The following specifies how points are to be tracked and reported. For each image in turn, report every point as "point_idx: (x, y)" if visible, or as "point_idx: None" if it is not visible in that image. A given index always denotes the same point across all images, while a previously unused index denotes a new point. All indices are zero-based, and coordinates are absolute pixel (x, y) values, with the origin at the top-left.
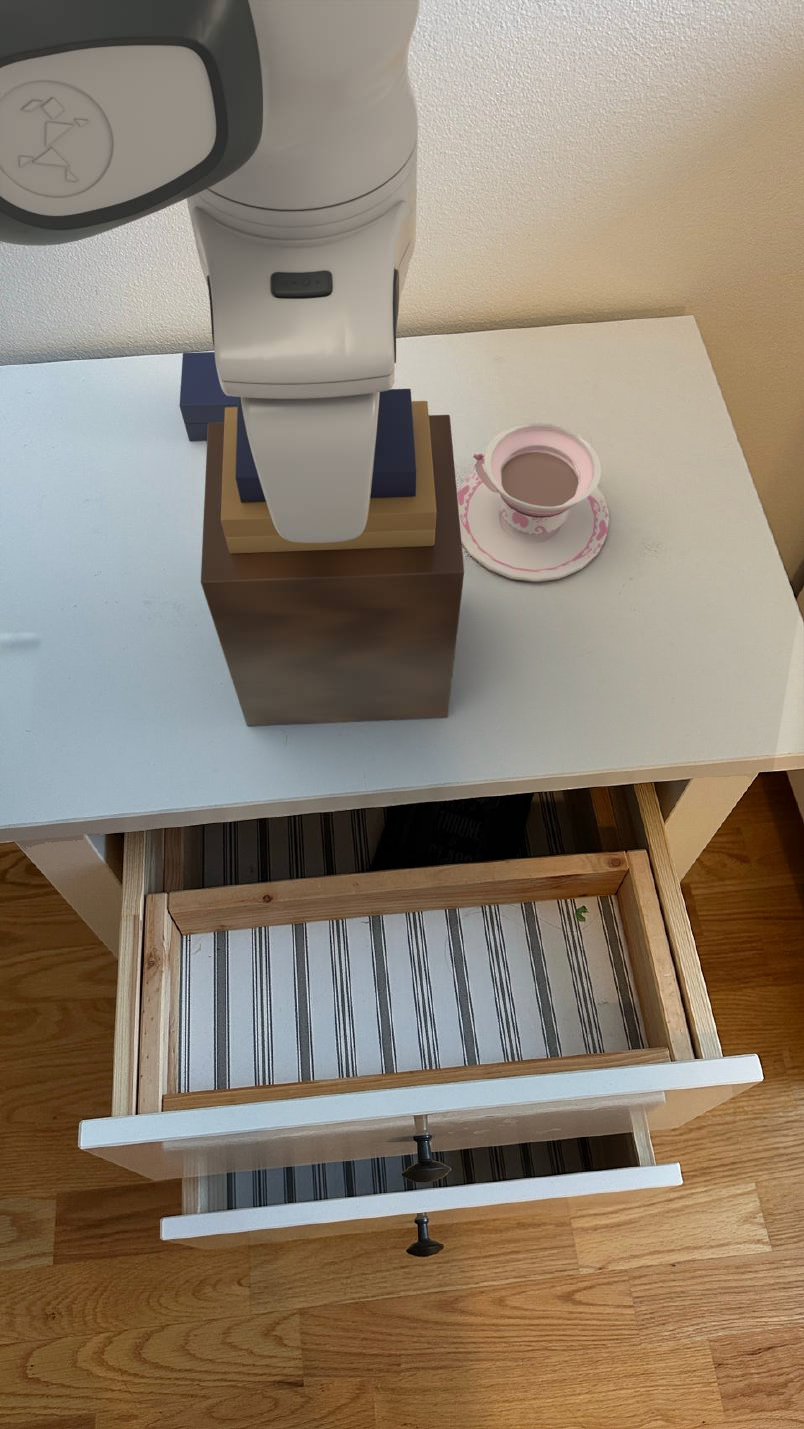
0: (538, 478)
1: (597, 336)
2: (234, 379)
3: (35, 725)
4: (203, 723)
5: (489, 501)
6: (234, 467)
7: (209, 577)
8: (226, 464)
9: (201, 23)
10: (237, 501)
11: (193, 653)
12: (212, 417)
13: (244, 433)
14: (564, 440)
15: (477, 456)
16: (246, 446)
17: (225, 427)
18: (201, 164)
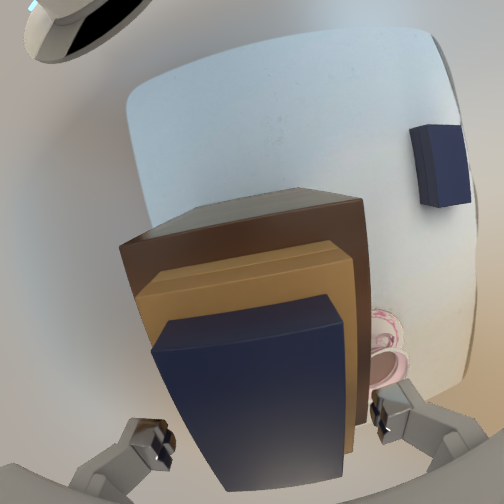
0: (378, 366)
1: (461, 352)
2: None
3: (178, 79)
4: (193, 179)
5: (375, 327)
6: (230, 299)
7: (126, 254)
8: (235, 286)
9: None
10: (168, 315)
11: (244, 158)
12: (424, 146)
13: (248, 352)
14: (397, 378)
15: (393, 339)
16: (218, 360)
17: (310, 269)
18: None
